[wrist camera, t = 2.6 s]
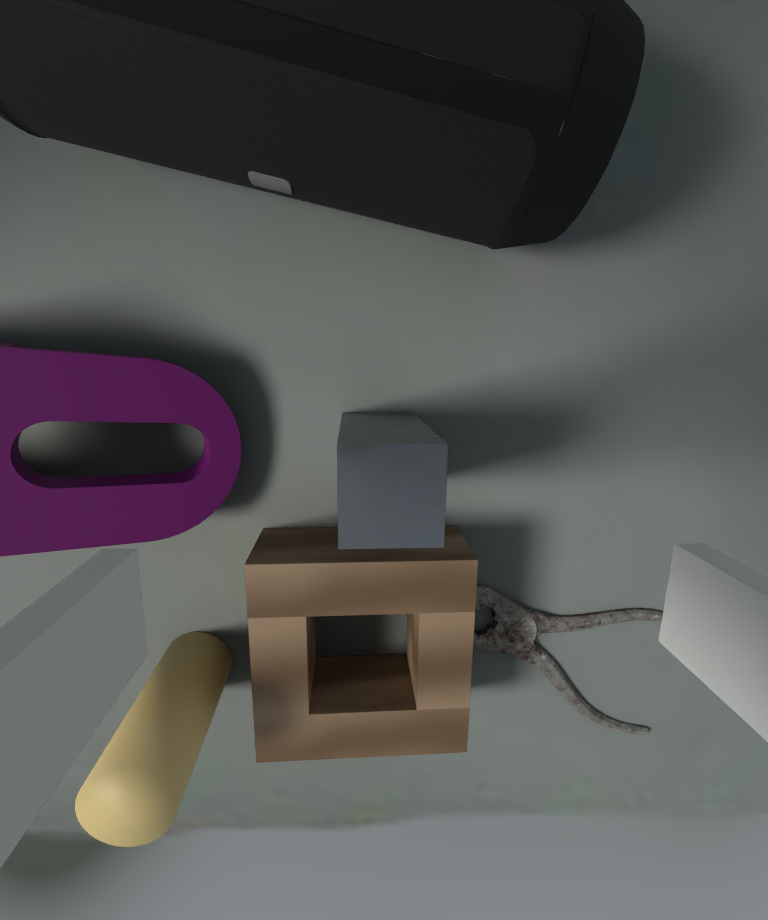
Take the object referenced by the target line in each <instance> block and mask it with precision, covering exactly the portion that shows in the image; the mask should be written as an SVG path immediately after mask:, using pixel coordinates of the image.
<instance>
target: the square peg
mask: <svg viewBox="0 0 768 920" xmlns="http://www.w3.org/2000/svg"><path fill="white" fill-rule="evenodd" d="M447 459H448V444H447V443H446V442H445V441H444V440H443V439H442V438H441V437H440V436H439V435H438V434H436V433H435V432H434V431H433V430H432V429H431V428H430V427H429V426H428V425H427V424H425V423H424V422H423V421H422V420H421V419H420V418H419V417H418V416H417V415H416V414H414V413H342V419H341V424H340V430H339V436H338V442H337V482H338V549H387V548H443V547H444V532H445V508H446V483H447Z"/></svg>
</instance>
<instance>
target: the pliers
mask: <svg viewBox="0 0 768 920" xmlns="http://www.w3.org/2000/svg"><path fill="white" fill-rule="evenodd" d="M485 606H486V607H492V608H493V614H492V616H493V618H494V620H495V622H494V624H493V625H487V626H486V627H485V628H484V629H483V630H480V631H474V639H473V647H476V648H480V649H485V650H489V651H494V652H500V653H508V654H510V655H512V656H514V657H517V658H519V659H521V660H523V661H525V660H527V661H528V662H530V663H532V664H534V665H535V666H536V667H538V668H539V669H540V670H541V671H542V672H543V673H544V674H545V675H546V676H547V677H548V678H549V679H550V680H551V681H552V682H553V684H554V685H555V686H556V687H557V688H558V689H559V691H560V692H561V693H562V694H563V695H564V696H565V698H566V699H567V700H568V701H569V702H570V703H571V704H572V705H573V706H574V707H575V708H576V709H577V710H578V711H579V712H580V713H581V714H583V715H584V716H586V717H587V718H589V719H590V720H592V721H594V722H596V723H598V724H600V725H603V726H605V727H608V728H611V729H613V730H617V731H621V732H625V733H631V734H641V735H649V732H650V731H649V730H648V728H647V727H645V726H640V725H633V724H627V723H624V722H620V721H616V720H614V719H612V718H609V717H607V716H605V715H603V714H601V713H599V712H598V711H596V710H594V709H593V708H592V707H591V706H589V705H588V704H587V703H586V702H585V701H584V700H583V699H582V697H581V696H580V695H579V694H578V693H577V691H576V690H575V689H574V687H573V686H572V685H571V683H570V682H569V681H568V679H567V678H566V676H565V675H564V673H563V672H562V670H561V669H560V668H559V666H558V665H557V664H556V662H555V661H554V660H553V659H552V658H551V657H550V656H549V655H548V654H547V653H546V652H545V651H544V650H543V649H542V648H541V647H539V646H538V645H537V644H536V643H535V642H533V641H534V639H535V637H536V635H540V634H542V633H555V632H570V631H577V630H582V629H587V628H592V627H596V626H602V625H607V624H612V623H618V622H624V621H632V620H651V621H658V622H662V617H663V612H662V611H657V610H652V609H643V608H627V609H616V610H609V611H601V612H594V613H586V614H577V615H553V614H546V613H543V612H539V611H535V610H531V609H527V608H525V607H523V606H522V605H520V604H518V603H516V602H515V601H513V600H511V599H509V598H508V597H506V596H504V595H502V594H501V593H499V592H497V591H495V590H494V589H492V588H490V587H488V586H483V585H477V589H476V606H475V608H476V609H477V610H480V609H482V608H483V607H485Z"/></svg>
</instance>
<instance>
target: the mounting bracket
mask: <svg viewBox="0 0 768 920" xmlns="http://www.w3.org/2000/svg"><path fill="white" fill-rule="evenodd" d="M45 421H78V422H140V423H183V424H188V425H191V426H193V427H195V428H197V429H199V430H200V431H201V433H202V435H203V438H204V444H205V445H204V452H203V455H202V457H201V459H200V460H199V461H198V463H197V464H196V465H195V466H193V467H192V468H190V469H188V470H186V471H184V472H180V473H164V474H135V475H106V476H76V477H51V476H47V475H43V474H41V473H38V472H36V471H35V470H33V469H32V468H30V467H29V466H28V465H27V464H26V463H25V462H24V460H23V459H22V457H21V455H20V452H19V448H18V441H19V437H20V434H21V432H22V431H23V430H24V429H25V428H27V427H29V426H31V425H33V424H36V423H40V422H45ZM240 461H241V438H240V433H239V429H238V426H237V423H236V420H235V418H234V416H233V413H232V411H231V410H230V408H229V406H228V405H227V403H226V402H225V401H224V399H223V398H222V397H221V395H220V394H219V393H218V392H217V391H216V390H215V389H214V388H213V387H212V386H211V385H209V384H208V383H207V382H206V381H204V380H203V379H202V378H200V377H199V376H197V375H195V374H194V373H192V372H190V371H188V370H186V369H184V368H182V367H180V366H178V365H175V364H173V363H170V362H167V361H164V360H159V359H155V358H149V357H140V356H128V355H115V354H102V353H90V352H77V351H65V350H52V349H40V348H27V347H17V344H13V343H6V342H0V556H9V555H20V554H30V553H40V552H50V551H60V550H70V549H80V548H90V547H100V546H110V545H120V544H130V543H140V542H149V541H156V540H161V539H165V538H169V537H172V536H175V535H178V534H180V533H182V532H185V531H187V530H189V529H191V528H193V527H194V526H196V525H198V524H199V523H201V522H202V521H204V520H205V519H206V518H207V517H209V516H210V515H211V514H212V513H213V512H214V511H215V510H216V509H217V508H218V507H219V506H220V505H221V504H222V502H223V501H224V500H225V498H226V497H227V495H228V494H229V492H230V491H231V489H232V487H233V485H234V483H235V480H236V477H237V475H238V471H239V467H240Z"/></svg>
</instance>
